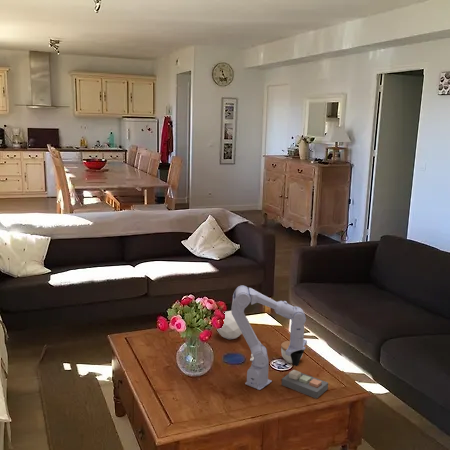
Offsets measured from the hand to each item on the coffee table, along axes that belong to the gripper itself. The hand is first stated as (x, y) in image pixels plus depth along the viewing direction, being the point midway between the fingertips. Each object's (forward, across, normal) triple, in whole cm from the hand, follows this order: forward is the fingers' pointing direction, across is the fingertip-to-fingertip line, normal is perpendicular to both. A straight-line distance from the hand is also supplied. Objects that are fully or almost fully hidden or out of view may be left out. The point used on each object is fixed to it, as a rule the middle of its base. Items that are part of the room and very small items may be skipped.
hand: (295, 365), depth 220 cm
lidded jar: (+9, +18, +12) cm, 23 cm away
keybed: (+9, 0, -5) cm, 10 cm away
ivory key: (+6, 0, 0) cm, 6 cm away
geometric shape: (+9, +18, +50) cm, 54 cm away
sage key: (+7, 0, -5) cm, 9 cm away
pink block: (+7, 0, -10) cm, 12 cm away
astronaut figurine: (+9, +8, +24) cm, 27 cm away
